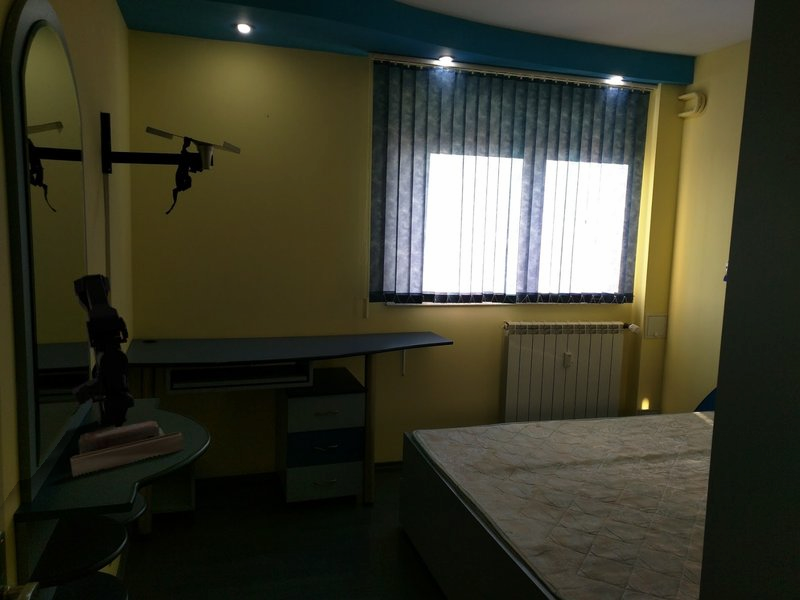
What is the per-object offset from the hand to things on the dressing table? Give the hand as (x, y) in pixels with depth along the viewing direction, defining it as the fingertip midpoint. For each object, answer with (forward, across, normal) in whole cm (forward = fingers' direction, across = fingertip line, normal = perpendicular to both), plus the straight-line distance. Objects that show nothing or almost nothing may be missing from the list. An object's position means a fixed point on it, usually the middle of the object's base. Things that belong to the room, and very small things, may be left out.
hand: (118, 429), depth 141 cm
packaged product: (+3, +6, 0) cm, 7 cm away
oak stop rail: (+2, +17, 0) cm, 17 cm away
